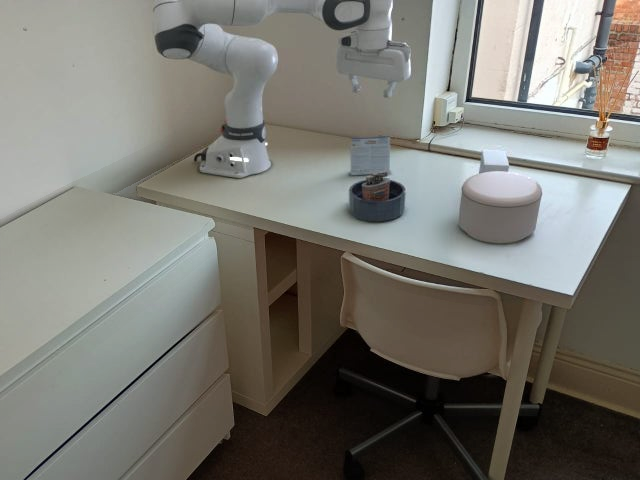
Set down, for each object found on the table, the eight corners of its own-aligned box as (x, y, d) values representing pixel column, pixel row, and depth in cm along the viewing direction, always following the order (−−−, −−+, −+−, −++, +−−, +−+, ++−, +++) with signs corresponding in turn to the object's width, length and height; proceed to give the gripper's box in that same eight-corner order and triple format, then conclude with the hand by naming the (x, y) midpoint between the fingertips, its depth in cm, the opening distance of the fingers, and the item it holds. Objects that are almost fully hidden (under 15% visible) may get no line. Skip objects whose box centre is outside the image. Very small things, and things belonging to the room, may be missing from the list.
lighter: (365, 214, 175) (366, 179, 170) (358, 209, 178) (359, 174, 172) (391, 207, 177) (393, 171, 172) (384, 202, 180) (386, 167, 175)
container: (462, 209, 175) (467, 166, 168) (536, 216, 168) (544, 172, 162) (452, 241, 161) (457, 197, 155) (533, 250, 155) (541, 204, 148)
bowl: (344, 220, 175) (344, 199, 171) (354, 197, 186) (354, 177, 182) (400, 225, 170) (401, 203, 167) (407, 200, 181) (408, 180, 178)
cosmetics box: (504, 202, 176) (509, 164, 170) (478, 201, 177) (483, 164, 171) (501, 185, 184) (506, 149, 178) (476, 185, 186) (480, 149, 180)
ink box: (389, 171, 199) (390, 133, 192) (389, 174, 197) (391, 136, 190) (349, 172, 200) (350, 135, 194) (350, 175, 198) (350, 138, 192)
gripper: (417, 39, 161) (414, 96, 169) (347, 32, 174) (346, 86, 181) (403, 45, 158) (400, 104, 165) (332, 38, 170) (333, 92, 178)
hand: (372, 94), depth 173 cm, fingers open, 8 cm apart
